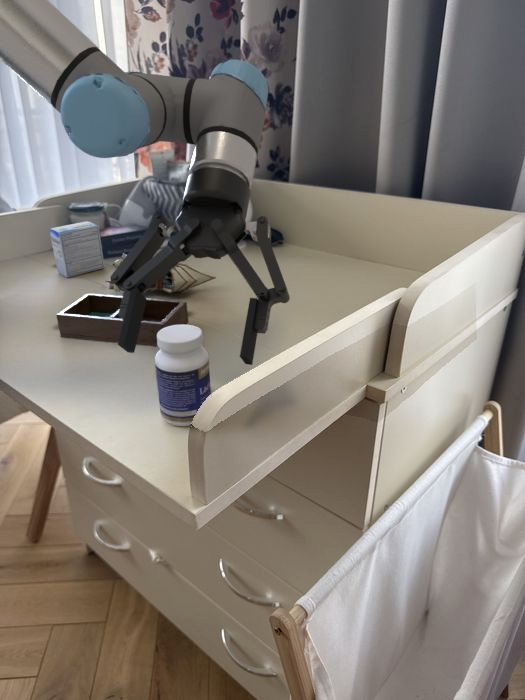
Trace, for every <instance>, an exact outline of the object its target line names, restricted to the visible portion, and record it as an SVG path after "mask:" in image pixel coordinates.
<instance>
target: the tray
mask: <svg viewBox="0 0 525 700" xmlns="http://www.w3.org/2000/svg"><path fill="white" fill-rule="evenodd" d="M122 297H123V295H113V294H101V293H100V294H99V293H85V294H84V295H83V296H81V297H80V298H78V299H76V300H75V301H74V302H73V303H71V304H70V305H67V307H66V308H63V310H61V311H60V312H58V313H56V315H55V316H56V320H57V325H58V330H59V335H60V338H68V339H69V338H70V339H79V340H90V341H99V342H109V343H118V341H119V337H120V333H121V329H122V325H123V321H124V320H122V319H121V318H120V317H119V309H120V305H121V301H122ZM145 298H146V299H147V301H146V305H145V309H144V314H143V318H142V322H141V326H140V331H139V335H138V339H137V344H136V346H137V345H138V346H147V345H150V346H149V347H156V346H158V345H157V333H158V332H159V331H160V330H161V329H163V328H165V327H168V326H172V325H181V324H184V325H186V324H187V323H188V324H189V316H188V315H189V314H188V303H187V301H186V300H173V299H161V298H149V297H145ZM188 324H187V325H188Z"/></svg>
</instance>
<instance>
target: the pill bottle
mask: <svg viewBox="0 0 525 700" xmlns="http://www.w3.org/2000/svg"><path fill="white" fill-rule="evenodd" d="M203 336H204V335H203V331H202V329H201V328H200V327H198V326H196V325H192V324H187V325H184V324H181V325H172V326H168V327H165V328H163V329H161V330H160V331H159V332H158V333H157V345H158V348H159V350H158V351H157V352H156V354H155V357H154V366H155V375H156V376H155V377H156V386H157V395H158V403H159V404H158V405H159V412H160V416H161V418H162V420H164V421H165V422H166V423H168V424H170V425H173V426H178V427H187V426H188V427H189V426H191V425H190V424H191V423H192V421H193V418H194V416H195V415H196V413H197V411H198V409H199V408H200V406H201V405H202V403H203V402H204V401H205V400H206V398H207V397H208V396H209V395H210V394H211V395H212V388H211V372H210V357H209V353H208V351H207V350H206V348H205V347H204V346H203V343H204V337H203Z"/></svg>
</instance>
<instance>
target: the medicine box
mask: <svg viewBox="0 0 525 700" xmlns="http://www.w3.org/2000/svg"><path fill="white" fill-rule="evenodd" d="M49 236H50V240H51V241H50V242H51V246H52V251H53V255H54V261H55V265H56V271H57V273H58V274H60V275H62V276H63V277H65V278H72V277H76V276H79V275H83V274H87V273H90V272H95V271H99V270H101V269H105V268H106V266H105V260H104V254H103V247H102V246H103V245H102V240H101V233H100V227H99V225H97V224H95V223H93V222H91V221H82V222H75V223H71V224H66V225H60V226H56V227H51V228H49Z"/></svg>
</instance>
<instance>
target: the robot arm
mask: <svg viewBox="0 0 525 700" xmlns="http://www.w3.org/2000/svg"><path fill="white" fill-rule="evenodd" d="M0 62H2V63H3V64H4V65H5V66H7V68H9V69H10V70H11V71H12V72H13V73H14V74H15V75H16V76H18V77H19V78H20V79H21V80H22V81H23V82H24V83H25V84H27V85H28V86H29V87H30V88H31V89H32V90H33V91H34V92H36V93H37V94H38V95H39V96H40V97H41V98H42V99H43V100H45V101H46V102H47V103H48V104H49V105H50V106H52V107H53V108H54V109H55V110H56V111H57V112H58V113H59V114H60V119H61V124H62V126H63V128H64V130H65V133H66V134H67V136H68V138H69V140H70V141H71V143H72V144H73V145H74V146H75V147H76V148H78V149H79V150H80V151H82V152H83V153H84V154H86V155H88V156H90V157H91V156H92V157H94V158H100V159H110V158H111V159H112V158H121V157H122V158H123V157H127V156H129V155H131V154H135V152H136V151H138V150H139V149H142V148H146V147H149V146H151V145H154V144H157V143H160V142H165V143H175V144H188V145H195V147H194V150H193V155H192V158H191V162H190V165H189V166H190V167H189V171H188V172H189V175H188V176H187V179H186V185H185V189H184V193H183V198H182V202H181V203H182V204H181V211H180V213H179V214H178V216H177V217H176V218H173V217H167V216H164V214H163V213H162V212H160V211H157V212H156V211H155V212H154V213H153V214H152V217H151V220H150V222H149V226H148V228H147V229H146V230H145V232H144V233H143V234H142V235H141V237H140V238H139V239H138V240H137V242H136V243H135V244H134V245H133V247H132V248H131V249H130V251H129V252H128V254H126V255H127V256H126V257H125V258H124V260H123V261H122V262H121V264H120V265H119V266H118V267H117V268H115V270H114V271H113V273H111V275H110V278H109V279H110V280H109V281H112V282H113V283H114V285H116V286H117V287H118V288H119V289H120V290H121V291H120V292H123V294H122V296H123V297H122V301H121V305H120V309H119V317H120V318H121V319H122V320H124V321H123V325H122V329H121V333H120V337H119V341H118V342H117V346H119V347H120V348H121V349H123V350H124V351H125V352H127V353H128V354H129V353H131V354H135V352H136V348H137V339H138V335H139V331H140V326H141V322H142V318H143V314H144V309H145V305H146V301H147V299H146V298H147V297H145V296H144V294H145V293H146V292H147V291H148V290H150V289H149V288H150V287H151V286H152V285H154V284H155V283H156V282H157V281H158V280H159V279H161V278H162V277H163V276H164V275H165V274H166V273H168V272H169V271H170V270H171V269H172V268H173V267H175V266H176V265H177V264H178V263H182V262H185V261H187V259H188V258H189V259H190V258H191V256H193V257H194V258H195V259H204V258H210V259H213V260H221V259H222V258H224V257H225V256H227V255H228V257H229V258H230V260H231V262H232V263H233V264H234V266H235V267H236V268H237V270H238V272H239V273H240V274H241V276H242V277H243V279H244V280H245V281H246V283H247V284H248V286H249V288H250V289H251V290H252V292H253V293H254V295H255V296H256V298H255V297H249V302H248V308H247V314H246V319H245V325H244V331H243V335H242V341H241V347H240V348H241V349H240V353H239V358H240V359H241V361H243V363H244V365H250V366H252V365H253V362H254V357H255V351H256V346H257V345H256V344H257V339H258V334H261V335H263V334H264V335H265V334H266V333H267V331H268V328H269V322H270V315H271V309H272V307H273V306H274V305H276V304H280V303H281V304H287V303H288V302H289V301H290V299H291V298H290V293H289V291H288V288H287V285H286V282H285V280H284V277H283V274H282V272H281V269H280V266H279V263H278V260H277V257H276V255H275V252H274V248H273V247H272V230H271V226H270V223H269V220H268V218H267V216H265V215H261V216H259V217H258V218H257V220H254V221H253V220H252V221H246V219H247V214H248V209H249V204H250V200H251V199H250V198H251V189H252V186H253V182H254V177H255V171H256V166H257V161H258V155H259V149H260V144H261V140H262V134H263V129H264V126H265V121H266V118H267V104H268V96H269V85H268V81H267V79H266V77H265V75H264V74H263V73H262V72H261V71H260V69H259V68H258V67H256V66H255V65H254V64H252V63H250V62H248V61H246V60H245V61H244V60H242V59H241V60H240V59H229V60H226V61H224V62H220V63H218V64H217V65H216V66H215V67H214V68H213V70H212V72H211V74H210V75H209V77H208V78H193V77H192V78H187V77H180V76H171V75H165V74H164V75H163V74H154V73H146V72H145V73H144V72H142V71H124V70H123V69H122V68H121V67H119V66H118V65H117V64H116V63H115V61H113V60H112V59H111V57H109V56H108V55H106V53H104V52H103V51H102V50H101V49H99V47H98V45H96V43H94V42H93V41H92V39H90V38H89V37H88V36H87V35H86V34H84V32H82V31H81V30H80V29H79V28H78V27H77V26H76V25H75V24H74V23H73V22H72V21H71V20H70V19H69V18H68V17H67V16H66V15H64V14H63V12H61V11H60V10H59V9H58V8H57V7H56V6H55V5H54V4H53V3H52V2H51V1H49V0H0ZM174 231H176V233H175V234H174V235H173V236H172V237H171V234H172V233H173V232H174ZM247 235H250V236H251V238H252V239H251V240H253V241H254V242H257V243H258V246H259V249H260V252H261V254H262V257H263V260H264V262H265V265H266V268H267V271H268V274H269V277H270V280H271V282H272V285H273V287H271V288H268V287H267V286H266V285H265V283H264V282H263V281H262V279H261V278H260V276H259V275H258V273H257V272H256V270H255V269H254V268H253V266H252V264H251V263H250V262H249V260H248V259H247V257H246V255H244V253H243V252H242V250H241V249H240V247H239V246H238V244H239V243H240V242H241V241H243V239H245V238H246V236H247ZM168 238H169V239H168ZM166 239H168V241H167V244H166V245H165V246H164V247H163V248H162V249H161V250H160V251H159V249H160V248H161V247H162V246H163V244H164V243H165V241H166ZM182 245H183V247H182V248H181V246H182ZM152 257H153V258H152ZM189 259H188V260H189Z"/></svg>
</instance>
